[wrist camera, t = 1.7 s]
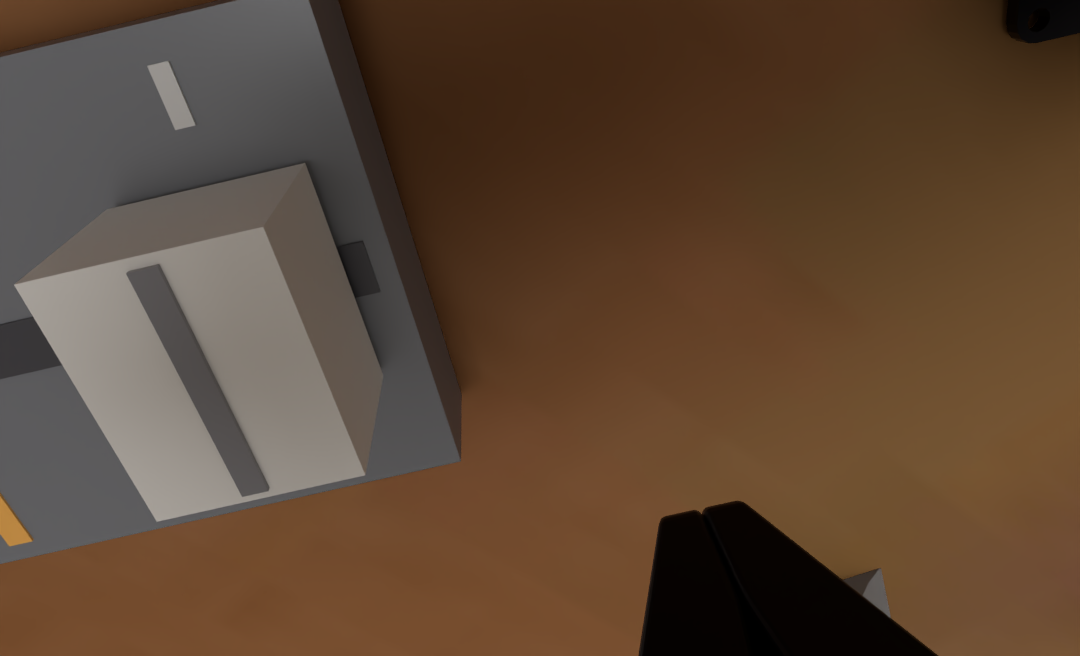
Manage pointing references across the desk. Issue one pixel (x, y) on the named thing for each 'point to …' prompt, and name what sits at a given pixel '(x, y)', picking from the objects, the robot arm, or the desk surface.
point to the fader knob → (215, 342)
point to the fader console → (179, 165)
